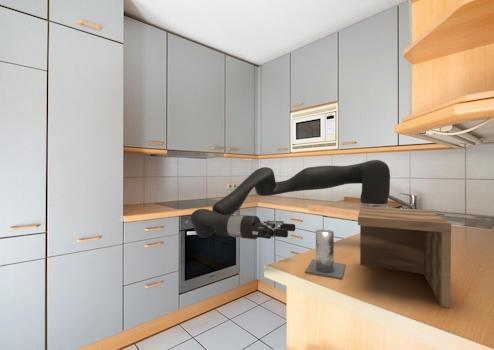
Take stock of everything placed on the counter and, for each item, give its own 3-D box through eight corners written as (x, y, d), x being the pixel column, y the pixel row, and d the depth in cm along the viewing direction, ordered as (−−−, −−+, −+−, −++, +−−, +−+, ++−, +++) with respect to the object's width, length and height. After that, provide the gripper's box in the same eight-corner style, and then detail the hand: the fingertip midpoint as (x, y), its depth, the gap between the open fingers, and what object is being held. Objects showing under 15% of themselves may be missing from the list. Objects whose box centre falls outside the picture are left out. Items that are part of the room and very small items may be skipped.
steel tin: (317, 265, 77) (317, 229, 77) (334, 267, 75) (334, 230, 75) (314, 271, 73) (314, 232, 73) (332, 274, 70) (332, 234, 70)
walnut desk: (360, 263, 81) (360, 206, 81) (429, 272, 73) (429, 210, 73) (357, 291, 62) (358, 216, 62) (450, 308, 54) (451, 223, 54)
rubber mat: (312, 261, 83) (312, 259, 83) (345, 265, 78) (345, 263, 78) (304, 273, 73) (304, 271, 73) (342, 279, 68) (342, 277, 68)
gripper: (233, 219, 79) (285, 222, 72) (252, 212, 92) (297, 214, 85) (234, 243, 79) (285, 249, 72) (252, 233, 92) (297, 237, 85)
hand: (291, 230), depth 79 cm, fingers open, 8 cm apart
